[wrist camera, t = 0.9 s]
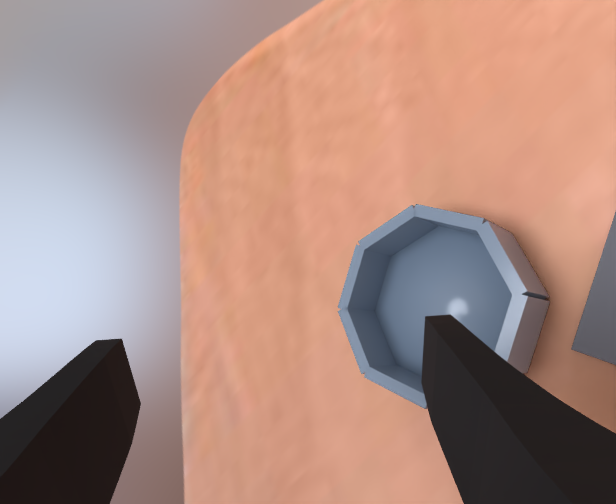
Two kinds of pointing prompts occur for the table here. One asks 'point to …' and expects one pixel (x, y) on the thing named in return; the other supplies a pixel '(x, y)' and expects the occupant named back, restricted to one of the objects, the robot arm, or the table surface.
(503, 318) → the bowl
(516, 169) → the table surface
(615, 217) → the mat
